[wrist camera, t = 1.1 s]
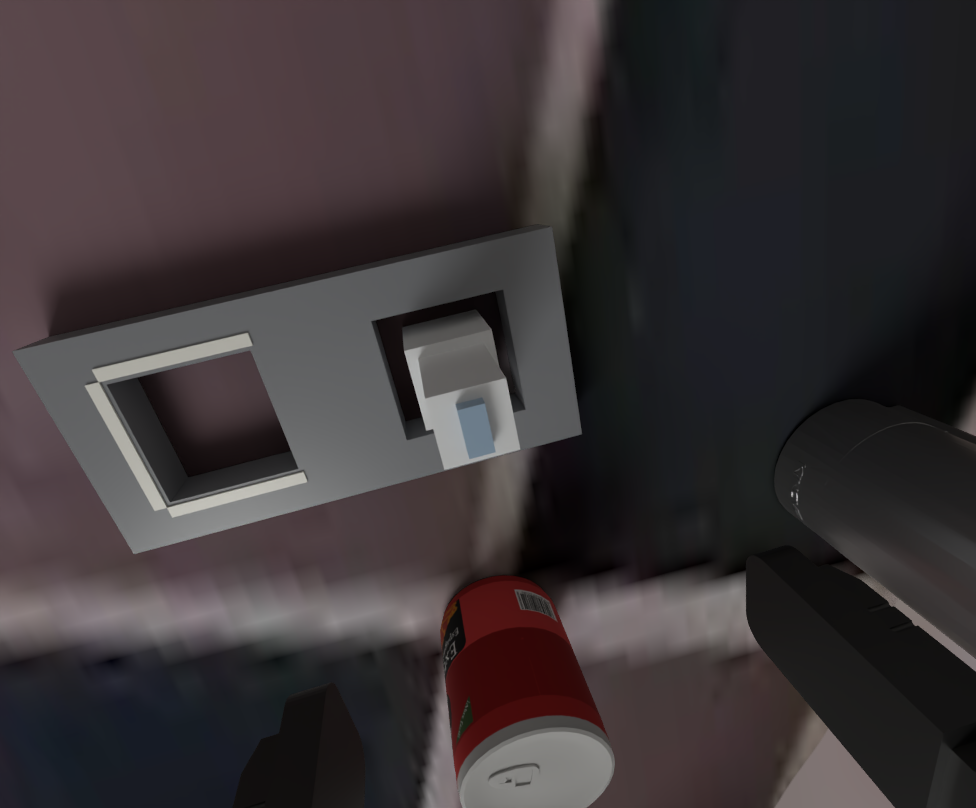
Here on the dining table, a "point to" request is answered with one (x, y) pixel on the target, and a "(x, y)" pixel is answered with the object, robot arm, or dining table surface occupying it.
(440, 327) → the plug
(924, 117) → the dining table surface
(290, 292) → the panel
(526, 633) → the canned food
